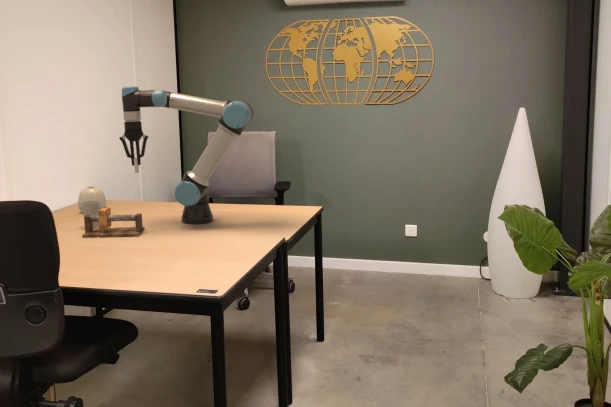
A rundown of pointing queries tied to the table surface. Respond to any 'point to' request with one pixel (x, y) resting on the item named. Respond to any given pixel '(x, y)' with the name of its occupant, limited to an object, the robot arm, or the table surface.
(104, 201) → the vase
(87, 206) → the cup
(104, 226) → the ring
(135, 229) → the pipe stand
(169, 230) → the table surface
